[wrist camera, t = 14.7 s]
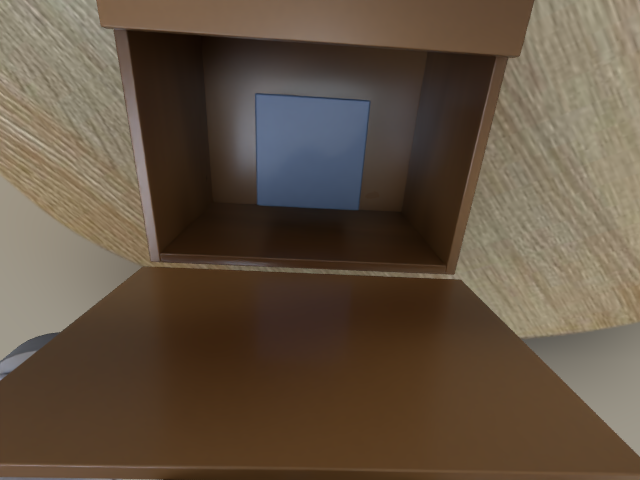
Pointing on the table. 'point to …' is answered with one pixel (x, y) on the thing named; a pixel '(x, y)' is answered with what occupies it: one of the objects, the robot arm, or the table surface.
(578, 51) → the table surface
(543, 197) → the table surface
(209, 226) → the carton
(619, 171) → the table surface
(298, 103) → the block
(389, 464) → the flap
